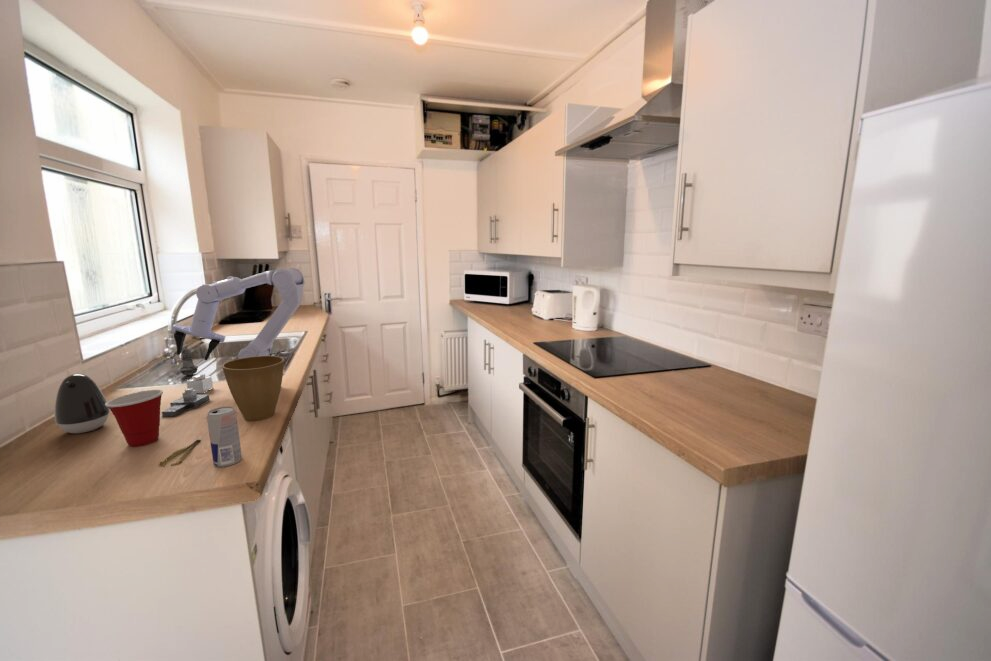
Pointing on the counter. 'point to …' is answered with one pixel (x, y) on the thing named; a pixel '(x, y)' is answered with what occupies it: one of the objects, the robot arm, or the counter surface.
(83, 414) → the grey egg-shaped dome
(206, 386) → the cube with round knob
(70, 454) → the counter surface
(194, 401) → the dark grey piece
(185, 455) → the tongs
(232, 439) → the energy drink
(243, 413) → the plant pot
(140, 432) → the plastic cup
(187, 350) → the salt shaker
